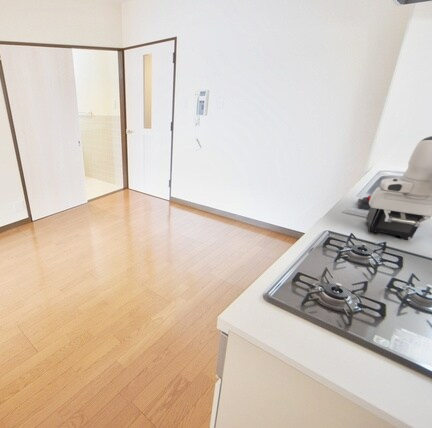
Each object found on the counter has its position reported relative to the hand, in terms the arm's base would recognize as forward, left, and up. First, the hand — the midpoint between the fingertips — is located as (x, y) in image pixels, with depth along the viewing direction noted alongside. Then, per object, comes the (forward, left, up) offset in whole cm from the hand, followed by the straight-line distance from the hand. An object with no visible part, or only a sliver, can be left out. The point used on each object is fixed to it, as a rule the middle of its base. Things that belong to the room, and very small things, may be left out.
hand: (401, 223), depth 96 cm
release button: (+3, -39, -6) cm, 40 cm away
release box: (+3, -39, -10) cm, 40 cm away
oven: (0, -15, -10) cm, 17 cm away
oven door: (0, -5, -8) cm, 10 cm away
